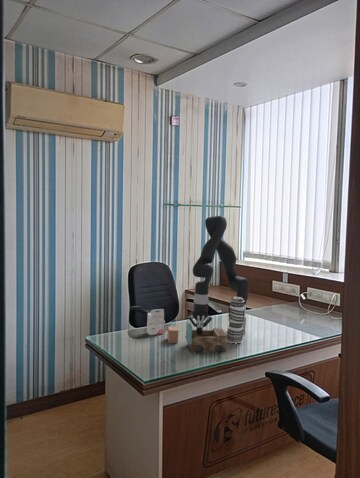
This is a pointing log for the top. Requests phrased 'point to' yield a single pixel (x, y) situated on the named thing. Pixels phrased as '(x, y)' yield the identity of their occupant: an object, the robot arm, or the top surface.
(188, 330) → the tailgate
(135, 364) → the top surface
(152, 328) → the ink cartridge box
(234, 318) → the patterned ribbed cylinder
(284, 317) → the top surface
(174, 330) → the tapered tan wedge
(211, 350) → the truck bed
